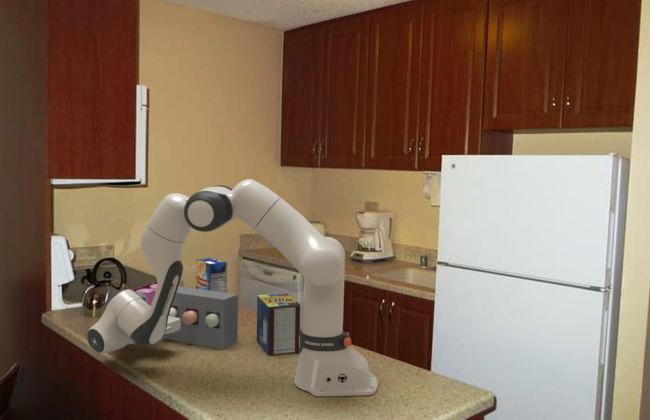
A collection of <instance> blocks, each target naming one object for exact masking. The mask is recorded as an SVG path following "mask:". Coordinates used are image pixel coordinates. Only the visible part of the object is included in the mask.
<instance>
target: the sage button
mask: <svg viewBox="0 0 650 420" xmlns="http://www.w3.org/2000/svg"><path fill="white" fill-rule="evenodd" d="M205 322H206V324H207V326H208V327H214V326H217V325H219V324H220V313H212V314H210V315H207V316H206V319H205Z"/></svg>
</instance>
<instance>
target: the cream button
mask: <svg viewBox="0 0 650 420" xmlns="http://www.w3.org/2000/svg"><path fill="white" fill-rule="evenodd" d="M169 315H170V316H171V317H177V318H178V307H176V306H173V307H171V310H170V313H169Z"/></svg>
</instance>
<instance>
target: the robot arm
mask: <svg viewBox="0 0 650 420" xmlns="http://www.w3.org/2000/svg"><path fill="white" fill-rule="evenodd" d="M234 219H239V220H241V221H243V222H244V223H245V224H247V225H248V226H250V228H252V229H253V230H254V231H255V232H256V233H258V234H259V235H260V236H261V237H262V238H264V239H265V240H266V241H267V242H268V243H270V244H271V245H272V246H273V247H274V248H275V249H276V250H277V251H278V252H280V253H281V254H282V255H283V257H284V258H285V259H286V260H287V261H288V262H289V263H290V264H291V265H292V266H293V267H294V268H295V269H296V270H297V271H298V272H299V273H301V274H302V276H303V290H302V301H301V328H300V335H299V351H300V352H299V360H298V365H297V370H296V373H295V377H294V381H293V383H294V385H295V386H296V387H297V388H299V389H301V390H303V391H306V392H308V393H310V394H311V395H312V396H314V397H347V396H348V397H351V396H355V397H356V396H358V397H359V396H372V395H374V394H375V393H376V392H377V391H378V386H379V382H378V378H377V376H376V375H375V374H373V373H371V371H370V366H369V363H368V360H367V359H366V356H364V355H362V354H361V353H359V352H358V350H356V349H355V348H353V347H352V346H351V345H352V339H351V336H350V333H349V332H348V331H347V332H345V331H344V329H343V325H344V297H345V273H346V272H345V271H346V270H345V269H346V251H345V249H344V247H343V245H342V244H341V242H340V241H338V239H336V238H334V237H330V236H324V235H323V234H322V233H321V232H320V231H319V230H317V228H315V227H314V226H313V224H312V223H310V222H309V221H308V219H306V217H305V216H304V215H302V214H301V213H300V212H299V211H298V210H297V209H295V208H294V207H293V206H292V205H290V204H289V202H287V201H286V200H284V198H282V197H281V196H279V195H278V194H277V193H276V192H274V191H273V190H271V189H270V188H269V187H267V186H265V185H263V184H262V183H260V182H258V181H256V180H254V179H251V178H247V179H244V180H242V181H240V182H238V183H237V184H236V185H235V186H234V187H233V188H232V187H229V186H226V185H219V184H218V185H214V186H208V187H205V188H203V189H201V190H199V191H197V192H195V193H193V194H192V195H191V196H190V197H189V196H188V195H186V194H183V193H178V192H172V193H169V194H167V195H166V196H164V198H163V199H162V200H161V201H160V203H159V204H158V205H157V207H156V209H154V212H153V213H152V215H151V216H150V218H149V219H148V221H147V224H146V226H145V227H144V230H143V232H142V234H141V239H140V247H141V251H142V253H143V255H144V257H145V259H146V260H147V262H148V264H149V266H150V267H151V268H152V270H153V273H154V275H155V277H156V282H157V290H156V293H155V296H154V299H153V302H152V305H151V306H150V305H149V304H147V303H146V302H145V301H144V300H143V299H142V298H141V297H139V296H138V295H137V294H136V293H134V292H133V291H132V290H133V289H130V288H124V289H121V290H118V291H115V292H113V293H111V294H110V295H109V296H108V297H107V299H106V300H105V302H104V305H103V307H102V308H103V309H102V313H101V317H100V318H99V319H98V321H97V322H96V323H94V324H93V325H92V326H91V327H90V328H89V329H88V330H87V332H86V339H87V342H88V345H89V347H90V348H91V349H92V350H93V351H94V352H95V353H98V354H107V353H111V352H115V351H119V350H120V349H123V348H124V347H127V345H133V344H135V345H136V346H138V347H149V346H154V345H156V344H157V343H158V342H160V341H161V340H162V339H163V338H162V337H163V335H164V334H169V333H172V332H175V331H178V330H180V328H181V320H180V318H177V317H171V316H170V315H169V313H170V310H171V307H172V304H173V301H174V298H175V295H176V292H177V289H178V286H179V283H180V281H181V280H182V275H183V273H184V266H183V262H182V255H183V249H184V245H185V243H186V240H187V239H188V236H189V235H190V233H191V231H192V230H195V231H197V232H203V233H205V232H206V233H209V232H213V231H215V230H217V229H220V228H222V227H224V226H226V225H228V224H229V223H230V222H231V221H232V220H234Z"/></svg>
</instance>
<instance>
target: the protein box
mask: <svg viewBox="0 0 650 420" xmlns="http://www.w3.org/2000/svg"><path fill="white" fill-rule="evenodd" d="M256 296H257V297H256V341H257V343H258V344H259V345H260V347H261V348H262V350H263V351H264V352H265V354H266V355H267V356H277V355H279V356H280V355H286V354H289V355H290V354H298V353H299V354H300V351H299V335H300V331H301V308H302V303H300V302H299V301H297V300H295V299H294V298H293V297H292V296H291V295H289V294H288V293H286V292H285V293H271V294H269V293H268V294H257V295H256Z"/></svg>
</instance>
